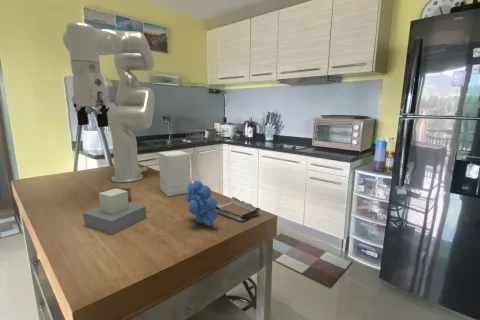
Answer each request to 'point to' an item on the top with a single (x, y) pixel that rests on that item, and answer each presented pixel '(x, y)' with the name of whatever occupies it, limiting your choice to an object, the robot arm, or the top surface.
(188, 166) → the supplement box
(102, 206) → the sage cube
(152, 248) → the top surface
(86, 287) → the top surface
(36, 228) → the top surface
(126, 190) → the walnut cube
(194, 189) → the grapes
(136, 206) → the base block
